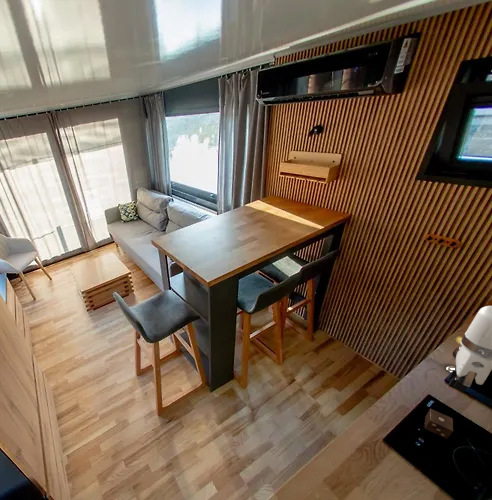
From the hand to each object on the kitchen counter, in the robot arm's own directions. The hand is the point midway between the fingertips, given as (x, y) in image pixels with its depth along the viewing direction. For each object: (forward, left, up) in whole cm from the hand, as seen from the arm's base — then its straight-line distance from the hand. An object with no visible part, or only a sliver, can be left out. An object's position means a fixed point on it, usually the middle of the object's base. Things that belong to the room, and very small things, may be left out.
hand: (456, 384), depth 81 cm
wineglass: (-5, -25, -17) cm, 31 cm away
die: (0, +6, -17) cm, 18 cm away
